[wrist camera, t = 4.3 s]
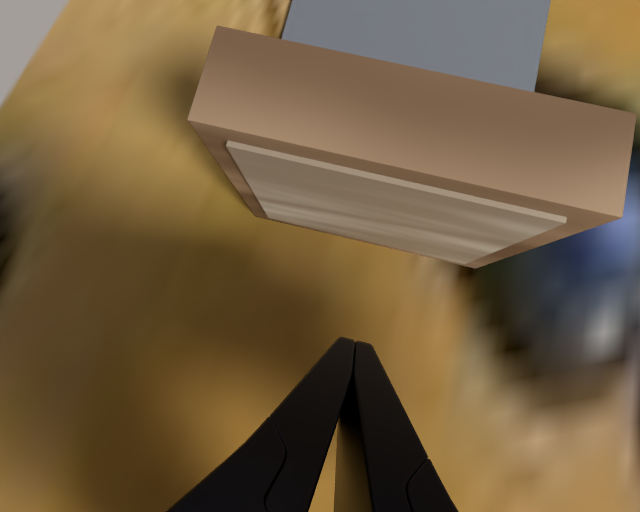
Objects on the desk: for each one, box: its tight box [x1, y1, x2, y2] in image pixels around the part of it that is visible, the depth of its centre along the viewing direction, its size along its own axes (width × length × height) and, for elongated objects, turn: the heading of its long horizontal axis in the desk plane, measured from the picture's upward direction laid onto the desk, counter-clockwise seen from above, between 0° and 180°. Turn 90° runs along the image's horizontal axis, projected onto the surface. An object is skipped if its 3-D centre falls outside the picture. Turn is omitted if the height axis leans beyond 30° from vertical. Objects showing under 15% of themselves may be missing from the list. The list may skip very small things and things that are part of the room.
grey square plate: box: [281, 0, 550, 92], centre depth 19 cm, size 13×12×1 cm
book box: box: [187, 26, 636, 268], centre depth 14 cm, size 3×10×9 cm, turn 76°
